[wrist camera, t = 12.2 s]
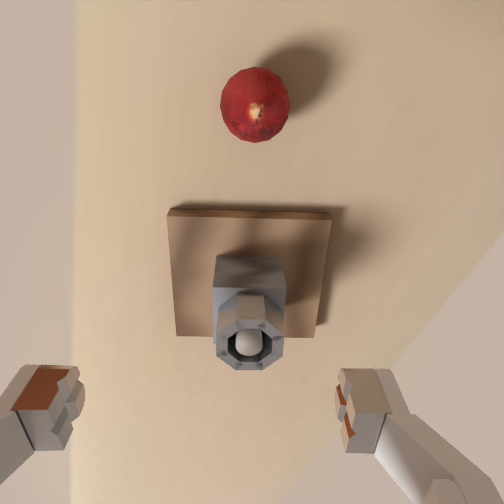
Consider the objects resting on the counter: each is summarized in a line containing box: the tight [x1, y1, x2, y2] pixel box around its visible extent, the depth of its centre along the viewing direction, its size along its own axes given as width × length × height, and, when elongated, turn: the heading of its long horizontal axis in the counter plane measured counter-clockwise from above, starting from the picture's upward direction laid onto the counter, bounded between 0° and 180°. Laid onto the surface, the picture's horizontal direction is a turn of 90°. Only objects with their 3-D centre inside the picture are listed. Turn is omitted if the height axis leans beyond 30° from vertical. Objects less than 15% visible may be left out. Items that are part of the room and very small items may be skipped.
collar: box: [216, 292, 284, 370], centre depth 35 cm, size 6×6×4 cm
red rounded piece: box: [220, 67, 290, 143], centre depth 31 cm, size 6×6×8 cm
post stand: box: [167, 209, 332, 356], centre depth 38 cm, size 17×16×12 cm
